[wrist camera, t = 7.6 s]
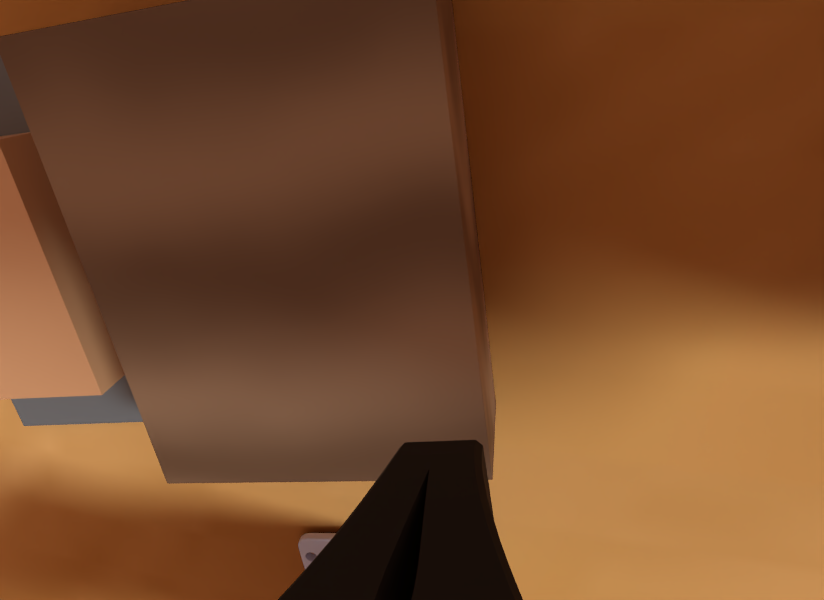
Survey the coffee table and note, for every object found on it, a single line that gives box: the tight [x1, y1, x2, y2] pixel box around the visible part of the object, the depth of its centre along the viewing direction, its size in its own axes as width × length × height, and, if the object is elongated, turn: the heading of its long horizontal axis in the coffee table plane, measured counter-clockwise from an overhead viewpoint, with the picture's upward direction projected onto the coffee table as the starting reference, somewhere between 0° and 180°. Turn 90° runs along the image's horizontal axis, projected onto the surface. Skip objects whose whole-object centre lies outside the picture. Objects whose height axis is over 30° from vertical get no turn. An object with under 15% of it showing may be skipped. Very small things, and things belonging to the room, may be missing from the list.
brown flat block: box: [0, 0, 496, 483], centre depth 18 cm, size 14×11×4 cm
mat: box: [0, 56, 143, 426], centre depth 22 cm, size 14×9×1 cm, turn 9°
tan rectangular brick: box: [0, 132, 125, 399], centre depth 21 cm, size 9×6×2 cm, turn 8°
